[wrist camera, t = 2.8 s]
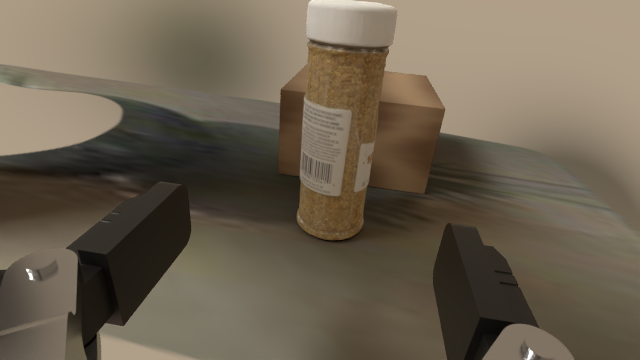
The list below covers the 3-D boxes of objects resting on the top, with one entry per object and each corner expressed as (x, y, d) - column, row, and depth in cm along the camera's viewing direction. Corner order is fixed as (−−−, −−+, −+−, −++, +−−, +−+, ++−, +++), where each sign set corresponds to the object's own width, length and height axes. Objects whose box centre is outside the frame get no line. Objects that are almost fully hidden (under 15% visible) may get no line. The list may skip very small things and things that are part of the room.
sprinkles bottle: (376, 233, 24) (418, 7, 18) (315, 251, 22) (339, 0, 16) (338, 199, 27) (363, 0, 21) (283, 212, 25) (292, -6, 19)
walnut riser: (278, 173, 30) (280, 89, 27) (304, 127, 41) (308, 62, 38) (424, 193, 29) (445, 108, 26) (412, 141, 40) (426, 75, 37)
